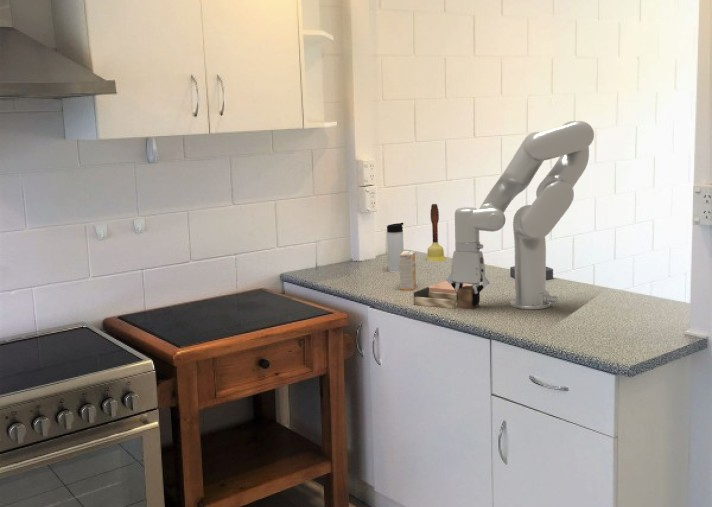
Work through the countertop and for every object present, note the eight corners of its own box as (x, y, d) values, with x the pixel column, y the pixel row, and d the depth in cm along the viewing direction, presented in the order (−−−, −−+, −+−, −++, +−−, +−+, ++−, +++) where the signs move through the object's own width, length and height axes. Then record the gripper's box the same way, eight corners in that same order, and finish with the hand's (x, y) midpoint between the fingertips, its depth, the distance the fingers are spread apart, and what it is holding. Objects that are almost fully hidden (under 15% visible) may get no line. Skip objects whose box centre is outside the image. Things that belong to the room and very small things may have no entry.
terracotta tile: (474, 289, 278) (474, 283, 278) (459, 296, 269) (459, 290, 268) (444, 286, 285) (444, 281, 285) (427, 293, 275) (427, 287, 275)
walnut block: (478, 305, 254) (478, 286, 253) (470, 309, 249) (470, 290, 248) (466, 303, 257) (465, 285, 256) (457, 307, 252) (457, 289, 251)
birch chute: (467, 302, 258) (467, 290, 258) (454, 308, 251) (454, 296, 250) (427, 298, 266) (427, 287, 266) (413, 304, 259) (413, 292, 258)
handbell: (438, 260, 340) (436, 201, 336) (457, 264, 330) (455, 203, 326) (415, 264, 334) (413, 204, 330) (433, 268, 323) (431, 206, 319)
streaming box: (555, 282, 286) (555, 269, 285) (522, 285, 284) (522, 272, 283) (540, 276, 298) (539, 264, 298) (508, 279, 296) (507, 266, 295)
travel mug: (405, 275, 310) (403, 223, 307) (388, 275, 310) (386, 224, 307) (404, 272, 316) (403, 221, 313) (388, 272, 317) (386, 222, 313)
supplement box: (413, 291, 280) (412, 254, 278) (400, 291, 281) (398, 254, 279) (416, 286, 288) (415, 250, 286) (403, 286, 289) (402, 250, 287)
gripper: (497, 247, 248) (497, 304, 251) (448, 244, 258) (449, 299, 261) (487, 250, 242) (487, 309, 245) (437, 247, 252) (438, 304, 255)
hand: (468, 303), depth 253 cm, fingers closed on walnut block, 4 cm apart
